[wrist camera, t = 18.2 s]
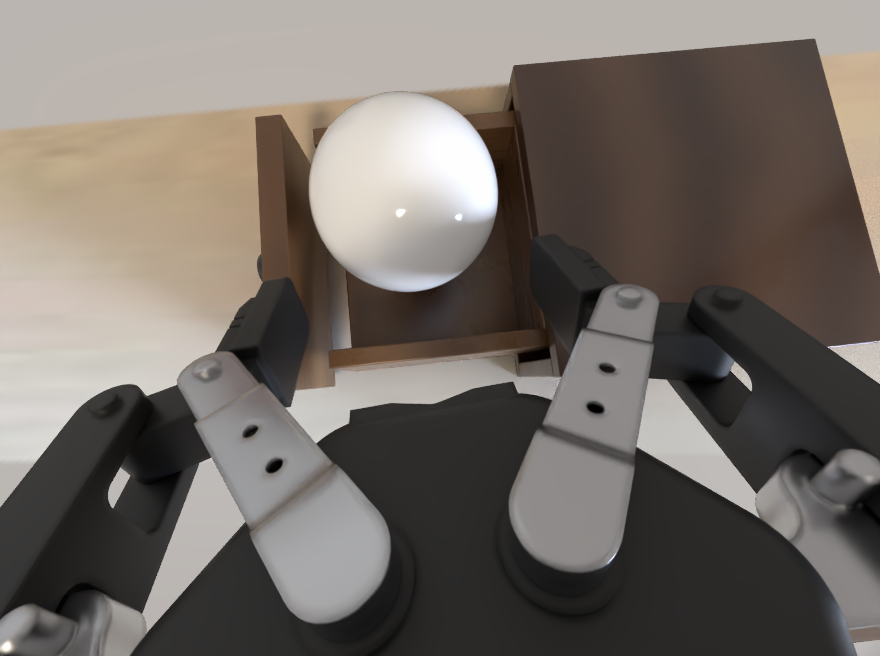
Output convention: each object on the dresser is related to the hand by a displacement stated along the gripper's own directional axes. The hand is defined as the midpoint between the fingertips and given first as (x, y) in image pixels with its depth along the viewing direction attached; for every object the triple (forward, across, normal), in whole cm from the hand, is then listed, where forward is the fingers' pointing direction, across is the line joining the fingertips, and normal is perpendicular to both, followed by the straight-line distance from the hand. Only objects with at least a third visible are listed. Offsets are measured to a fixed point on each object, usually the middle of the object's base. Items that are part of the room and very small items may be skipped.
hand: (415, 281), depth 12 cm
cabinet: (+8, -12, +5) cm, 16 cm away
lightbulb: (+8, 0, +4) cm, 9 cm away
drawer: (+8, +1, +4) cm, 9 cm away
